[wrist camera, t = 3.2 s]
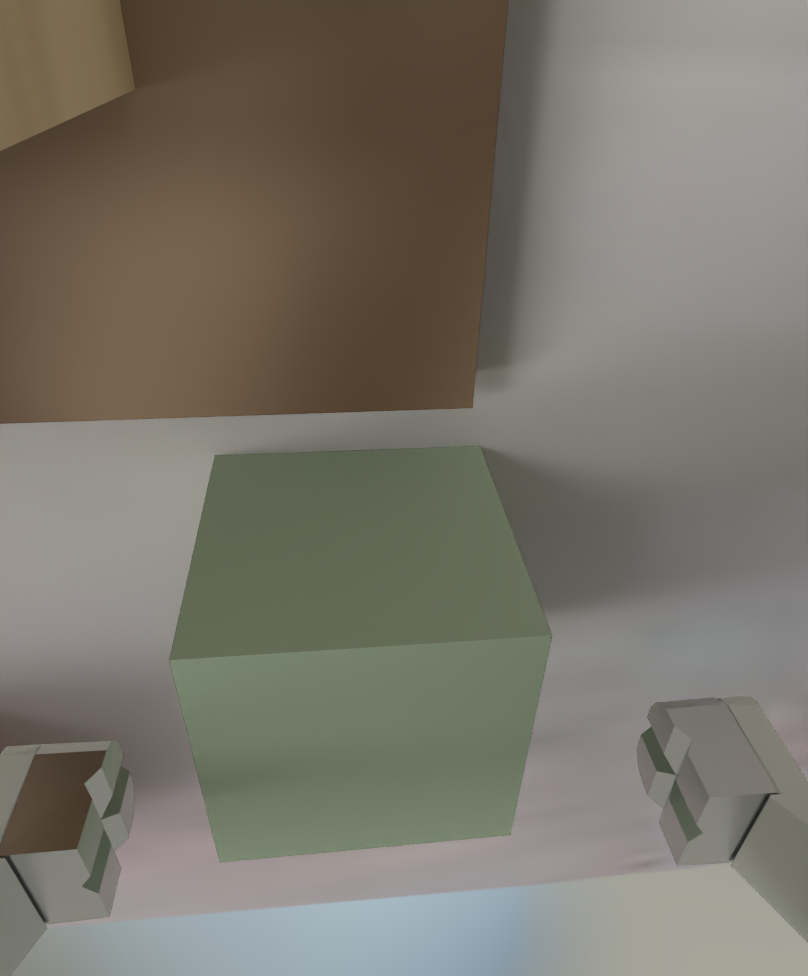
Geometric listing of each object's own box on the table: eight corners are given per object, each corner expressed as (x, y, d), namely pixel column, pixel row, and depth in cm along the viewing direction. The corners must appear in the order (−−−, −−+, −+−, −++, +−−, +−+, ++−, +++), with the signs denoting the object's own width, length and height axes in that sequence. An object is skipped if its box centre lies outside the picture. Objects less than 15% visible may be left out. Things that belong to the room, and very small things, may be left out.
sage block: (244, 640, 16) (219, 862, 12) (215, 453, 13) (169, 659, 9) (460, 626, 16) (510, 834, 12) (478, 444, 13) (552, 636, 9)
